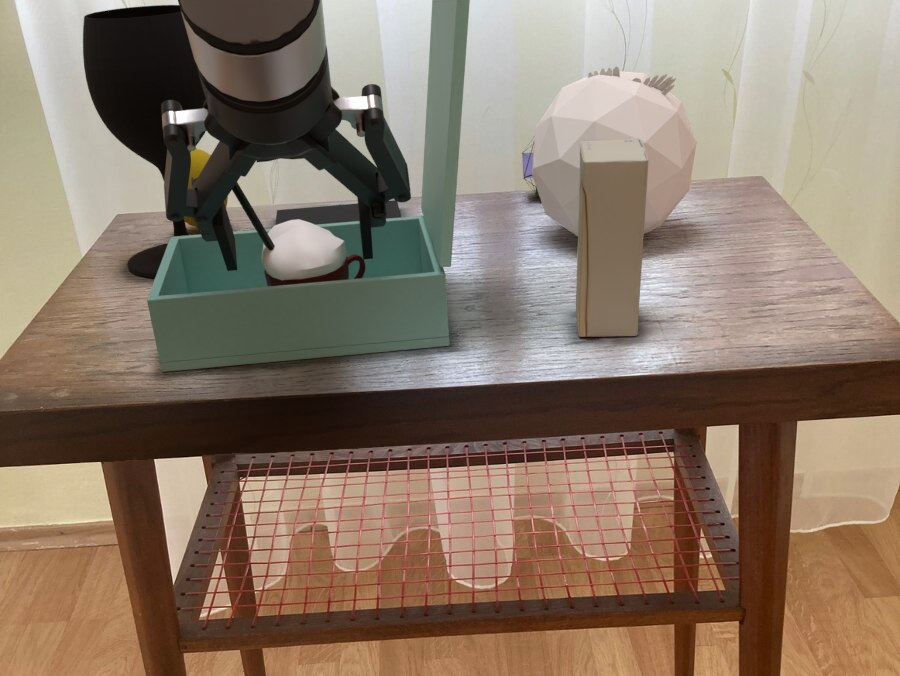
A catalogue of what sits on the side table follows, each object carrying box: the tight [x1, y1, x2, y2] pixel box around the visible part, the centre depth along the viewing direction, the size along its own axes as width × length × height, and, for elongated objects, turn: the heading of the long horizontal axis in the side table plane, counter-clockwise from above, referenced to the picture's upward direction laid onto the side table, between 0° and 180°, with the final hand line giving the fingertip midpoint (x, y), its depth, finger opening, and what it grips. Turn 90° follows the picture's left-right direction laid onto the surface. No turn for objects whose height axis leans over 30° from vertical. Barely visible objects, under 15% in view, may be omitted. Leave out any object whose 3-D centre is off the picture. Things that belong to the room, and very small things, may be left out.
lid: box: [420, 0, 471, 268], centre depth 76 cm, size 21×15×4 cm
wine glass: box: [82, 4, 207, 279], centre depth 94 cm, size 10×10×20 cm
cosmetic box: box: [575, 138, 648, 338], centre depth 77 cm, size 6×4×12 cm
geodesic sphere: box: [532, 66, 698, 237], centre depth 94 cm, size 15×14×14 cm
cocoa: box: [231, 182, 366, 286], centre depth 81 cm, size 10×6×12 cm, turn 91°
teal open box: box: [146, 215, 451, 373], centre depth 83 cm, size 20×15×5 cm
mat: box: [275, 199, 402, 225], centre depth 105 cm, size 12×12×1 cm
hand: (299, 248), depth 84 cm, fingers closed on cocoa, 10 cm apart
